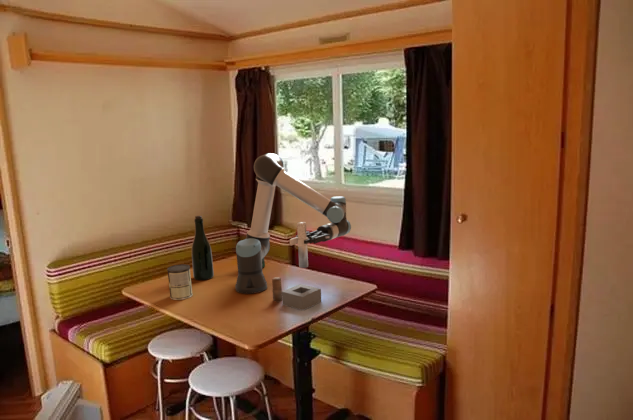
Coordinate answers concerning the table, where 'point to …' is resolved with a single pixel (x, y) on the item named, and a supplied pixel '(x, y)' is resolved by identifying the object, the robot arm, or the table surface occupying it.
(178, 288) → the coffee can
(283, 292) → the hole block
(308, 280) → the table surface
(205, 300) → the table surface
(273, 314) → the table surface
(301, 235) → the long steel pin
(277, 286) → the short walnut pin
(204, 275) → the beer bottle
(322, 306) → the table surface
